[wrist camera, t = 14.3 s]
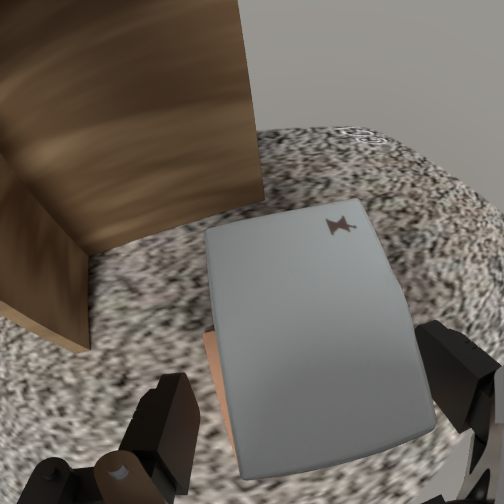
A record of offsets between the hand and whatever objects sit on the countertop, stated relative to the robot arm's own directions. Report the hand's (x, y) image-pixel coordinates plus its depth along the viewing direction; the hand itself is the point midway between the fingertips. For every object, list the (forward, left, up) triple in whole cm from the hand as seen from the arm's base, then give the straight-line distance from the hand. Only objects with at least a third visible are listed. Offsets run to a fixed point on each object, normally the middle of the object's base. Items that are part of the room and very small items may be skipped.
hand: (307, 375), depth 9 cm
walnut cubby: (-11, -6, -8) cm, 15 cm away
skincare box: (-1, 0, -8) cm, 8 cm away
